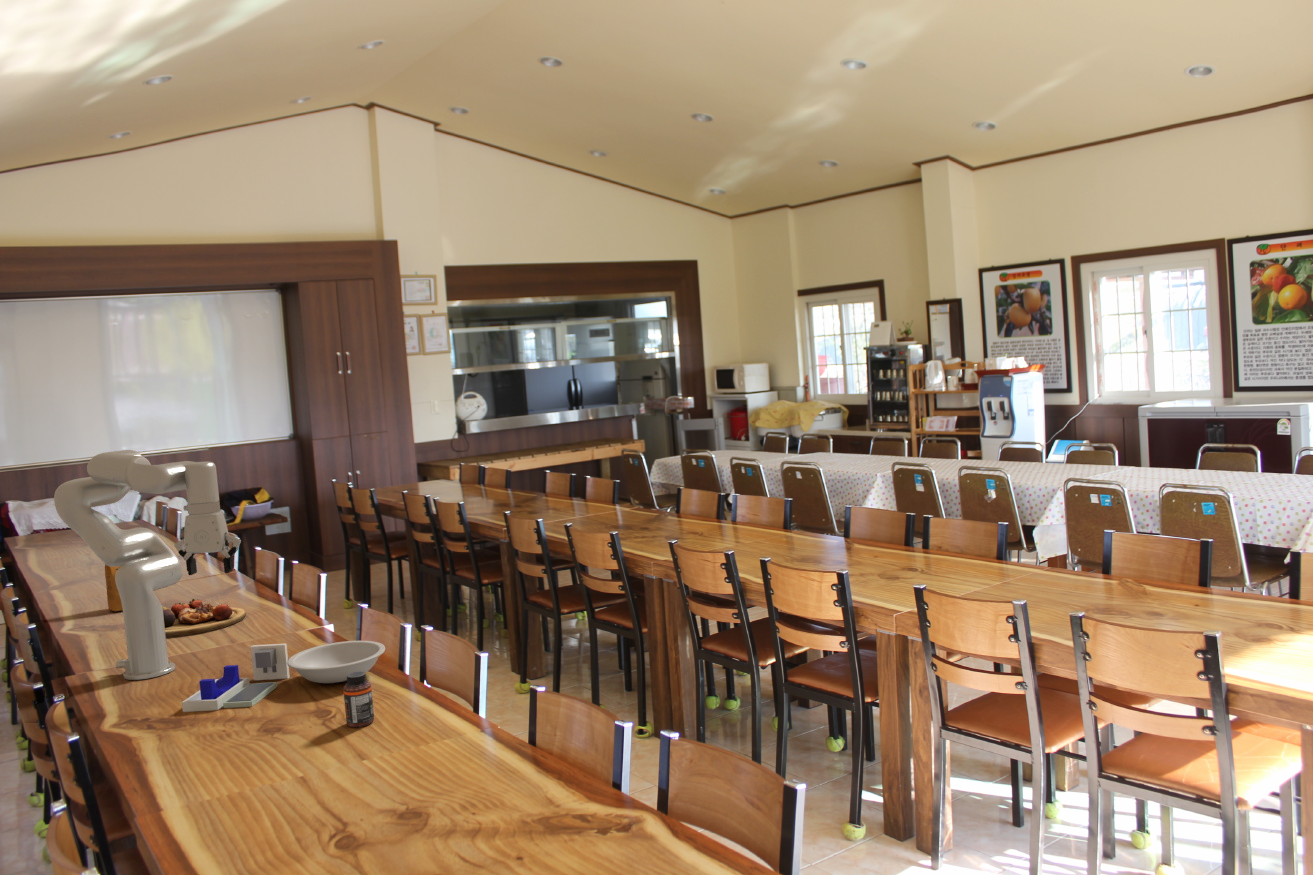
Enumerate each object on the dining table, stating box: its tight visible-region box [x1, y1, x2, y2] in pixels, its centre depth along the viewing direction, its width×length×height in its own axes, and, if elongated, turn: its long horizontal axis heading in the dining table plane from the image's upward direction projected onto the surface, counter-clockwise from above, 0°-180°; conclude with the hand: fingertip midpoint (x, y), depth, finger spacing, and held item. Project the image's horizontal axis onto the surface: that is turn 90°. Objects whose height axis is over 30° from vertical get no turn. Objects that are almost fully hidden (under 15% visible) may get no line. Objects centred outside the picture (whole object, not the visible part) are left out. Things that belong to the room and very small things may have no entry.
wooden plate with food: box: [162, 598, 247, 638], centre depth 314 cm, size 32×32×8 cm
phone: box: [222, 681, 278, 709], centre depth 235 cm, size 7×14×1 cm, turn 178°
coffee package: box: [104, 563, 123, 612], centre depth 343 cm, size 10×12×22 cm
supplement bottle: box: [343, 671, 375, 728], centre depth 211 cm, size 6×6×11 cm
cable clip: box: [199, 664, 240, 700], centre depth 235 cm, size 12×4×6 cm, turn 174°
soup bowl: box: [287, 640, 386, 684], centre depth 245 cm, size 24×24×7 cm
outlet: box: [250, 643, 291, 681], centre depth 247 cm, size 9×4×9 cm, turn 88°
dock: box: [181, 677, 251, 713], centre depth 235 cm, size 9×17×2 cm, turn 178°
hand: (210, 573), depth 250 cm, fingers open, 9 cm apart
